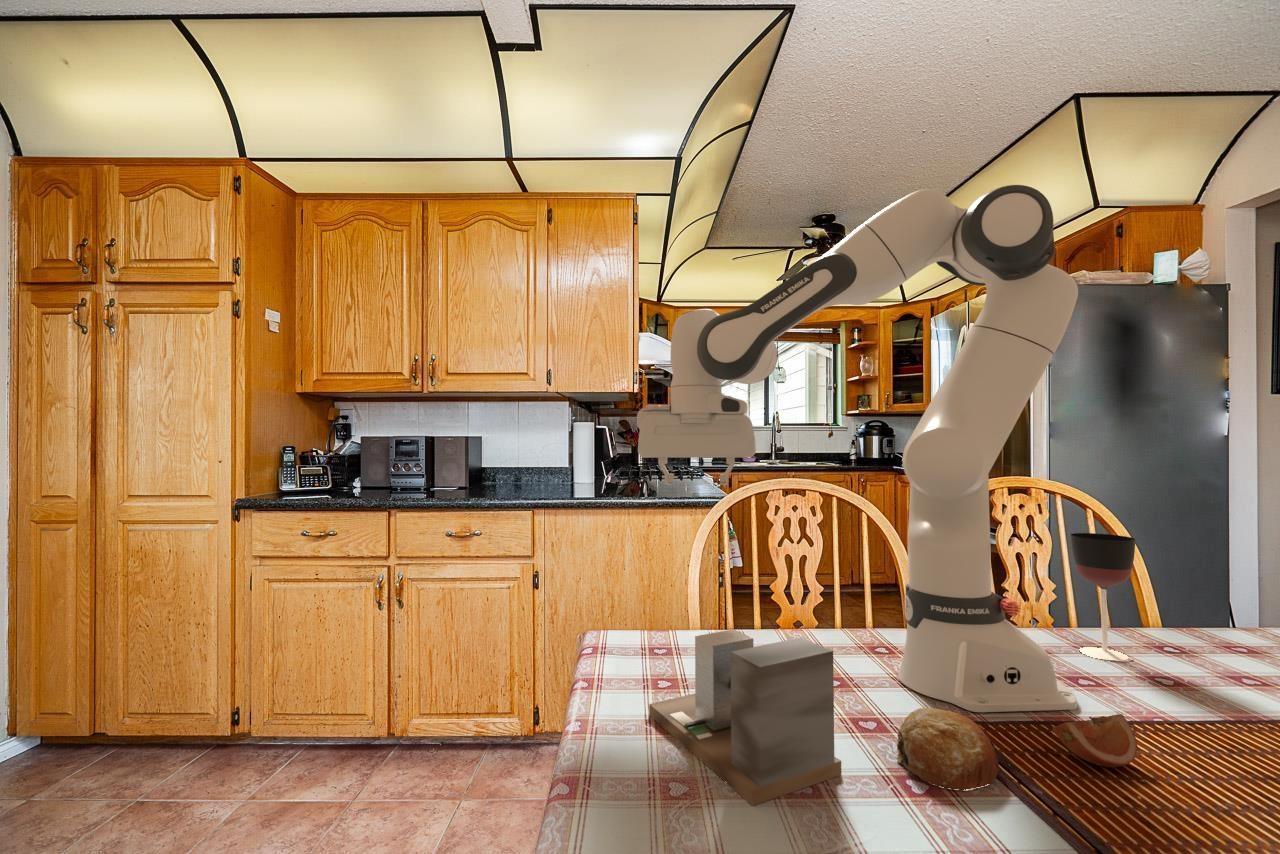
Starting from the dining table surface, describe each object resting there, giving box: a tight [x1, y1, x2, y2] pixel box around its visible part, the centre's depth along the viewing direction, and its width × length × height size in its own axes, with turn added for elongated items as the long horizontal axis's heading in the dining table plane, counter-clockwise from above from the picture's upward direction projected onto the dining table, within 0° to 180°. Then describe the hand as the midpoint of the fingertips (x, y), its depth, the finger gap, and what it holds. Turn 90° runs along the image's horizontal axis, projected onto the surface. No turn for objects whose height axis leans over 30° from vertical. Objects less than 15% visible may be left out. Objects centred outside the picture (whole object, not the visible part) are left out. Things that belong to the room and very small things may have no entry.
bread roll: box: [896, 707, 1000, 790], centre depth 66 cm, size 10×10×8 cm
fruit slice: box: [1052, 713, 1138, 768], centre depth 67 cm, size 8×7×5 cm
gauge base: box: [648, 637, 842, 807], centre depth 71 cm, size 22×12×14 cm, turn 27°
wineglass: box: [1070, 532, 1136, 660], centre depth 101 cm, size 8×9×20 cm
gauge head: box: [685, 628, 754, 731], centre depth 71 cm, size 7×9×10 cm
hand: (696, 484), depth 102 cm, fingers open, 8 cm apart
